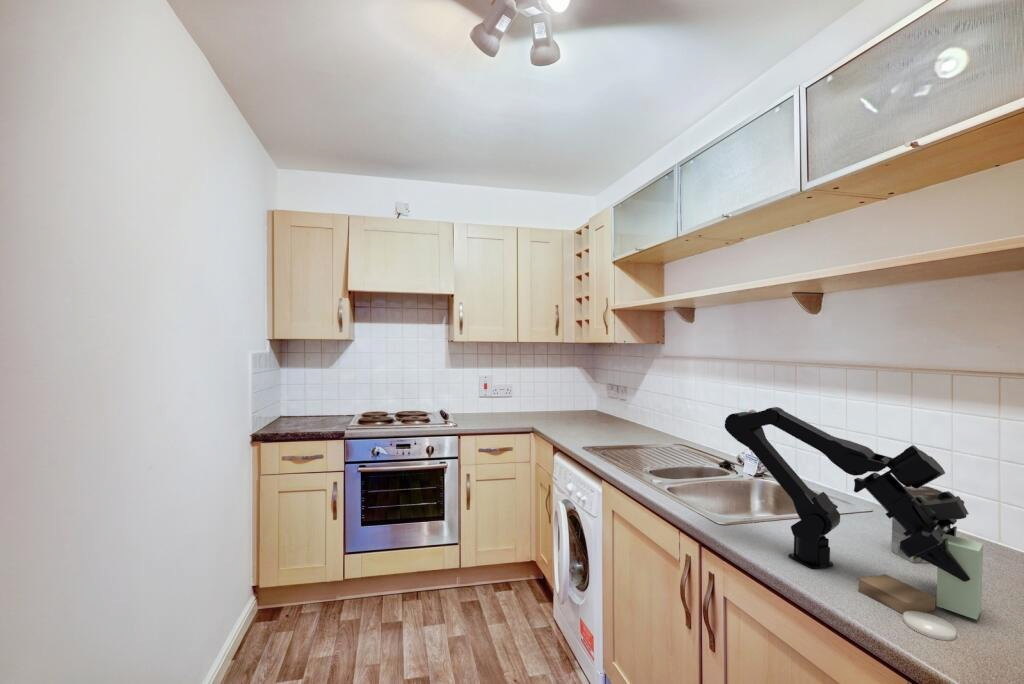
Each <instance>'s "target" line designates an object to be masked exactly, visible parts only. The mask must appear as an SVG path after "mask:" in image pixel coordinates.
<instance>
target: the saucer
mask: <svg viewBox="0 0 1024 684" xmlns="http://www.w3.org/2000/svg"><path fill="white" fill-rule="evenodd" d="M902 616H903V617H902V618H903V619H902V620H903V623H904V624H905V625H906V626H907V627H908V628H909V627H910V629H911V630H913V631H914V630H915V632H916V631H917V632H916V633H918V632H919V633H918V634H920V633H921V635H922V636H925V635H926V637H928V638H932V639H935V640H938V641H939V640H940V641H947V642H949V641H954V640H955V639H957V629H956V628H955V626H954V625H953V624H951V623H950V622H949V621H947V620H945V619H944V618H941V617H939V616H936V615H934V614H931V613H929V612H925V613H924V612H919V611H906V612H904V614H902Z"/></svg>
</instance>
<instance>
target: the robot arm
mask: <svg viewBox="0 0 1024 684" xmlns="http://www.w3.org/2000/svg"><path fill="white" fill-rule="evenodd" d="M768 425H772V426H774V427H775V428H777V429H779V430H781V431H783V432H784V433H786V434H788V435H790V436H792V437H794V438H795V439H798V440H799V441H800V442H803V443H805V444H807V445H808V446H810V447H812V448H814V449H815V450H817V451H819V452H821V453H822V455H823V454H824V455H825V457H827V458H828V460H829V461H830V462H832V463H833V464H834V465H835V466H837V467H838V468H839V469H840V470H842V471H843V472H845V473H846V474H847V475H850V476H854V477H855V476H864V474H867V473H868V472H870V473H871V474H869V475H867V476H865V477H864V478H862V477H856V478H854V479H853V482H854V488H853V492H854V493H859V492H860V491H861V492H862V490H864V489H865V490H866V491H867V492H868V493H869V494H870V495H871V496H872V498H874V499H875V500H876V501H877V503H879V504H880V505H881V507H883V509H884V510H885V511H886V513H885V515H886V517H887V518H888V519H892V517H893V518H894V519H895V520H896V521H897V522H898V523H899V524H900V526H901V527H902V528H903V529H904V530H905V532H904V533H903V534H904V535H905V536H906V537H904V538H903V539H902V540H901V541H900V549H901V550H902V551H903V552H904V554H905V555H906V556H907V557H908V558H910V557H912V556H914V555H915V556H916V557H917V558H918V557H919V558H921V559H923V560H925V561H927V562H929V563H928V564H931V565H933V566H935V567H937V568H940V569H942V570H944V571H946V572H948V573H949V574H951V575H953V576H955V577H957V578H958V579H960V580H962V581H964V582H966V581H969V580H970V578H969V576H968V575H967V574H966V572H965V571H964V569H963V568H962V567H961V566H960V564H959V563H958V562H957V560H956V559H955V558H954V557H953V555H952V554H951V553H950V551H949V550H948V538H946V539H944V540H943V539H942V535H943V534H948V535H952V536H956V537H957V530H958V527H957V526H956V525H955V524H956V523H957V522H958V520H962V519H966V518H967V516H968V515H969V512H968V510H967V508H966V506H965V501H964V500H963V499H961V497H960V496H959V495H956V496H955V495H954V494H953V493H951V491H949V490H947V491H942V492H940V493H939V494H938V500H936V499H934V500H932V501H924V500H923V499H922V498H921V497H920V496H919V497H918V496H915V497H914V496H913V495H912V494H911V493H910V492H909V491H908V490H907V489H906V488H905V487H904V486H906V487H910V486H912V487H914V488H916V489H918V488H920V487H922V486H926V485H927V484H929V483H930V482H932V481H934V480H936V479H938V478H939V477H941V476H943V475H945V474H946V471H945V470H944V468H943V467H942V465H941V464H940V463H939V462H938V461H937V460H936V459H934V458H933V457H932V455H930V456H929V455H928V454H927V453H926V452H924V451H923V450H921V449H919V448H918V447H917V446H916V445H914V444H912V445H910V446H909V447H906V448H905V449H904V451H903V452H901V453H899V454H897V455H896V456H895V457H891V456H888V455H883V454H881V453H876V452H874V451H873V449H871V448H870V447H868V446H866V445H863V444H860V443H857V442H854V441H851V440H848V439H843V438H840V437H836V436H834V435H831V434H829V433H827V432H825V431H824V430H822V429H820V428H818V427H815V426H814V425H812V424H810V423H808V422H806V421H805V420H802V419H801V418H798V417H797V416H795V415H792V414H791V413H789V412H787V411H785V410H784V409H783V408H781V407H778V406H772V407H769V408H765V409H764V410H759V411H756V412H749V411H741V412H735V413H731V414H728V415H727V417H725V420H724V429H725V430H726V432H727V433H729V435H731V436H732V438H734V439H735V440H736V441H737V442H739V443H740V444H741V445H743V446H745V447H747V448H749V450H750V451H751V452H752V454H754V455H755V457H756V458H757V459H758V460H759V462H760V463H761V464H762V465H763V467H764V468H765V469H766V470H767V471H768V473H770V475H771V476H772V477H773V479H775V481H776V482H777V483H778V484H779V486H780V487H781V488H782V489H783V490H784V491H785V493H786V494H787V496H789V498H790V499H791V501H792V503H793V506H794V509H795V511H796V514H797V516H798V517H799V519H800V520H799V521H796V522H794V524H792V525H791V526H790V530H791V533H792V535H793V552H792V553H788V557H789V558H790V559H792V560H795V561H797V562H798V563H800V564H803V565H804V566H806V567H807V568H810V569H812V570H813V569H820V568H828V567H832V566H834V563H833V562H832V561H831V547H830V546H829V544H830V539H829V538H827V536H826V535H827V534H828V535H829V533H830V532H832V531H833V530H834V529H836V528H837V527H838V526H839V525H840V523H841V514H840V512H839V510H838V508H839V506H838V505H837V504H835V503H833V501H831V499H830V497H829V496H828V495H827V493H826V492H824V491H822V492H820V493H817V492H815V491H813V489H812V490H811V488H810V487H808V485H807V484H806V483H805V482H804V481H803V479H802V478H801V477H800V476H799V475H798V474H797V473H796V471H794V469H793V468H792V467H791V466H790V465H789V463H788V462H787V461H786V460H785V459H784V458H783V456H782V455H781V454H780V453H779V451H778V450H776V448H775V447H774V446H773V444H772V443H771V442H769V441H768V439H767V436H766V434H765V431H764V429H763V427H764V426H768ZM886 468H888V469H889V470H888V471H886V472H884V473H882V474H879V473H878V472H881V471H882V470H884V469H886ZM949 524H951V526H953V527H951V528H950V529H948V528H947V527H946V526H947V525H949ZM954 525H955V526H954Z"/></svg>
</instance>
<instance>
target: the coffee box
mask: <svg viewBox="0 0 1024 684" xmlns="http://www.w3.org/2000/svg"><path fill="white" fill-rule="evenodd" d="M903 486H904V485H903ZM904 487H905V488H906V489H907V490H908V491H909V492H910V493H911V494H912V495H913V496H914V497H915V496H918V497H919V496H920V497H921V498H922V499H923V500H924V501H932V500H934V499H936V500H938V494H939V493H940V492H943V491H942V490H939V489H937V488H933V487H930V486H926V485H923V486H922V487H920V488H918V489H916V488H914V487H912V486H910V487H906V486H904ZM946 527H947V528H948V529H950V528H952V525H951V524H949V525H947V526H946ZM904 532H905V530H904V529H903V528H902V527H901V526H900V524H899V523H898V522H897V521H896V520H895V519H894V518H893V517H892V518H891V550H890V551H891V552H892V553H894V554H896V555H898V556H899V557H901V558H903V559H905V560H907V561H909V563H912V564H930V563H929V562H927V561H925V560H923V559H921V558H919V557H918V558H917V557H916V556H915V555H914V556H912V557H910V558H908V557H907V556H906V555H905V554H904V552H903V551H902V550H901V549H900V541H901V540H902V539H903V538H904V537H906V536H905V535H904V534H903V533H904Z"/></svg>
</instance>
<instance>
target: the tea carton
mask: <svg viewBox="0 0 1024 684" xmlns="http://www.w3.org/2000/svg"><path fill="white" fill-rule="evenodd" d="M946 538H948V550H949V551H950V553H951V554H952V555H953V557H954V558H955V559H956V560H957V562H958V563H959V564H960V566H961V567H962V568H963V569H964V571H965V572H966V574H967V575H968V576H969V578H970V580H969V581H966V582H964V581H962V580H960V579H958V578H957V577H955V576H953V575H951V574H949V573H948V572H946V571H944V570H942V569H940V568H938V567H937V572H936V573H937V575H936V576H937V577H936V580H937V581H936V602H935V607H939V608H941V609H945V610H948V611H950V612H953V613H956V614H958V615H961V616H964V617H967V618H970V619H973V620H977V621H978V620H979V619H978V618H979V616H980V614H981V611H982V604H983V603H982V602H983V601H982V600H983V599H982V598H983V596H982V595H983V571H984V569H983V566H984V565H983V564H984V562H983V561H984V543H982V542H978V541H975V540H970V539H967V538H964V537H963V538H962V537H959V536H957V535H956V536H952V535H948V534H943V535H942V539H943V540H944V539H946Z"/></svg>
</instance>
